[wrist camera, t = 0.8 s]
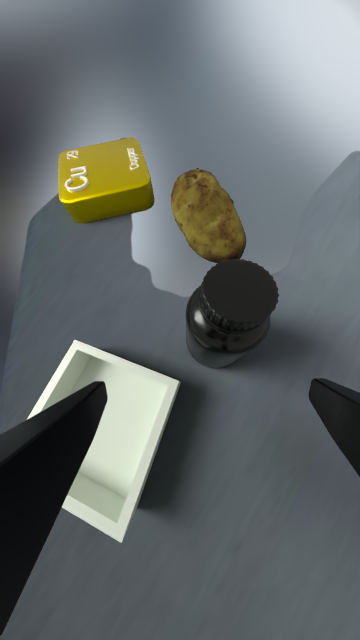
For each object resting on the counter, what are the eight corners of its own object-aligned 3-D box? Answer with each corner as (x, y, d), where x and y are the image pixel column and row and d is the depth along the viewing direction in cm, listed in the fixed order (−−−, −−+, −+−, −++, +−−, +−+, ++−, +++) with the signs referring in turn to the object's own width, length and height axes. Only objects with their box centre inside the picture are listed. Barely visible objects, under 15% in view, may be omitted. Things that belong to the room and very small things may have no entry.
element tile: (157, 209, 32) (151, 179, 27) (74, 228, 31) (55, 201, 27) (142, 162, 37) (136, 131, 33) (71, 177, 37) (55, 148, 32)
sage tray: (136, 508, 16) (121, 542, 13) (35, 452, 18) (-3, 468, 15) (180, 382, 20) (179, 380, 17) (93, 348, 22) (74, 339, 19)
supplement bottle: (243, 370, 21) (307, 347, 9) (184, 366, 21) (179, 339, 10) (240, 316, 23) (288, 247, 12) (188, 313, 24) (187, 245, 12)
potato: (191, 281, 25) (192, 235, 18) (169, 220, 30) (162, 164, 23) (245, 266, 26) (268, 216, 18) (215, 208, 31) (223, 150, 23)
